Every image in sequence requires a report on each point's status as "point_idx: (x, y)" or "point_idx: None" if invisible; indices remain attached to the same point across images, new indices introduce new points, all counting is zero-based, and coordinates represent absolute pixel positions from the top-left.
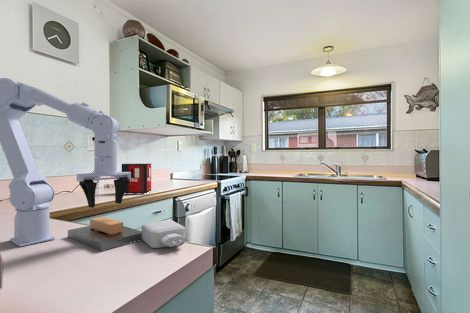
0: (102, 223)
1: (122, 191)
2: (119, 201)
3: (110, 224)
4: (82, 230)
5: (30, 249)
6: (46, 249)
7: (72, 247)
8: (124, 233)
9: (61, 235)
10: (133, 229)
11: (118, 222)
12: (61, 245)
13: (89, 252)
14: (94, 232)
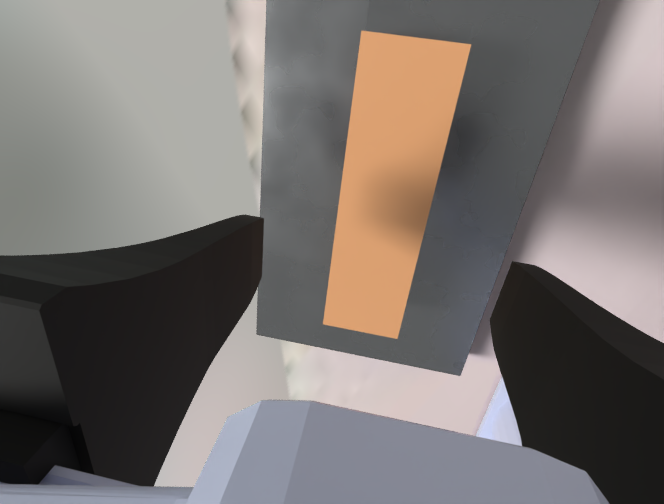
0: (435, 181)
1: (179, 247)
2: (256, 222)
3: (461, 62)
4: (435, 311)
5: (655, 332)
6: (639, 273)
7: (577, 190)
8: (371, 15)
9: (447, 392)
10: (274, 54)
11: (385, 63)
12: (566, 267)
13: (630, 7)
14: (437, 222)
